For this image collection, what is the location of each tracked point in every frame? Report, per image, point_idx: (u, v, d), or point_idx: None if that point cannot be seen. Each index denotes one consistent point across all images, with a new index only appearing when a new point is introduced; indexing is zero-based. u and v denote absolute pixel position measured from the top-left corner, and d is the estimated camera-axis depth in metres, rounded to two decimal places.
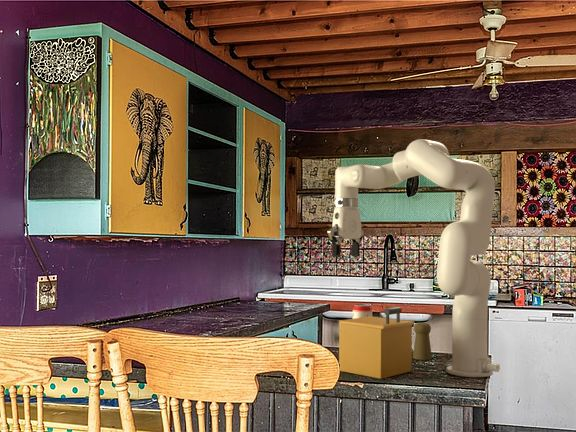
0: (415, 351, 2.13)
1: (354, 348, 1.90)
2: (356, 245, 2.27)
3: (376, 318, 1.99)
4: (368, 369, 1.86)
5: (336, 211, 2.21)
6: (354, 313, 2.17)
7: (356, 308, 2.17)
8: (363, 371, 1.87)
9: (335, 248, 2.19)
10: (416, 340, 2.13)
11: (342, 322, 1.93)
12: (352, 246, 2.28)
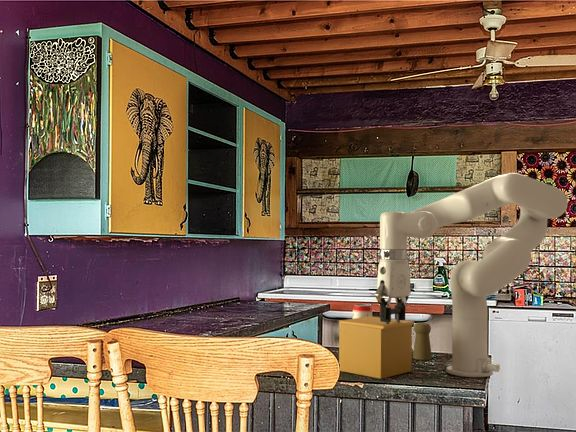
0: (415, 351, 2.13)
1: (354, 348, 1.90)
2: (401, 307, 1.91)
3: (376, 318, 1.99)
4: (368, 369, 1.86)
5: (382, 265, 1.87)
6: (354, 313, 2.17)
7: (356, 308, 2.17)
8: (363, 371, 1.87)
9: (384, 312, 1.86)
10: (416, 340, 2.13)
11: (342, 322, 1.93)
12: None
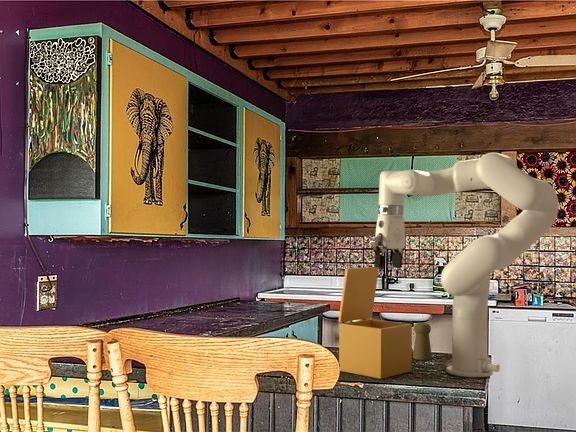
0: (415, 351, 2.13)
1: (354, 348, 1.90)
2: (398, 256, 2.10)
3: None
4: (368, 369, 1.86)
5: (380, 219, 2.04)
6: None
7: None
8: (363, 371, 1.87)
9: (378, 259, 2.03)
10: (416, 340, 2.13)
11: (340, 318, 1.93)
12: (394, 256, 2.11)
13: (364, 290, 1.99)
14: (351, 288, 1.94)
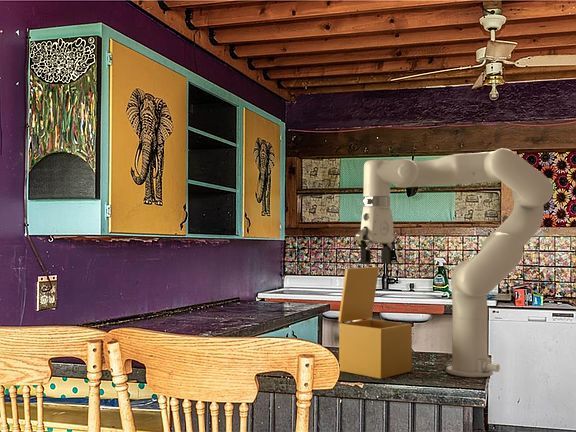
0: None
1: (354, 348, 1.90)
2: (387, 250, 1.97)
3: None
4: (368, 369, 1.86)
5: (365, 211, 1.92)
6: None
7: None
8: (363, 371, 1.87)
9: (364, 254, 1.90)
10: None
11: (340, 318, 1.93)
12: (383, 252, 1.98)
13: (364, 290, 1.99)
14: (351, 288, 1.94)
